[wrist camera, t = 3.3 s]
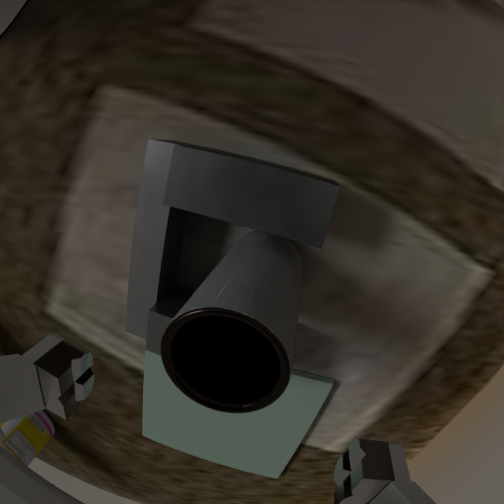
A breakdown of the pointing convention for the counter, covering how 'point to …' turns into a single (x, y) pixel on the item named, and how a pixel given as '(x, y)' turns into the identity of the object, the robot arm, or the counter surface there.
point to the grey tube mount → (212, 205)
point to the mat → (232, 422)
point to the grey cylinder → (238, 328)
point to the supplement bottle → (27, 435)
